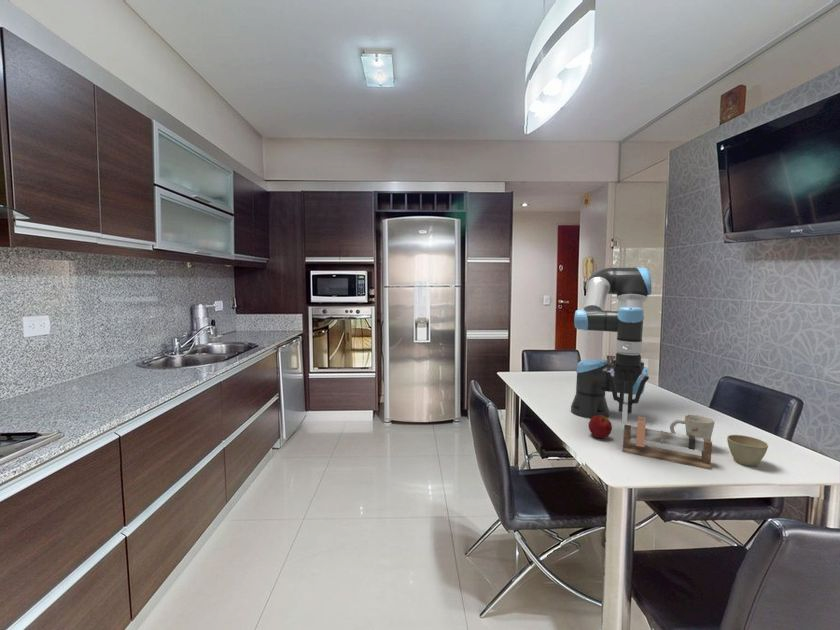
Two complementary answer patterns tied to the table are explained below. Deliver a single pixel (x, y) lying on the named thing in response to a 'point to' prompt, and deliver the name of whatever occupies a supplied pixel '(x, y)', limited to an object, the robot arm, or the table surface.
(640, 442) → the salmon pink flat block
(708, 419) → the mug
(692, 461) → the pipe stand
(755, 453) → the beige bowl
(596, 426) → the apple
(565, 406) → the table surface
